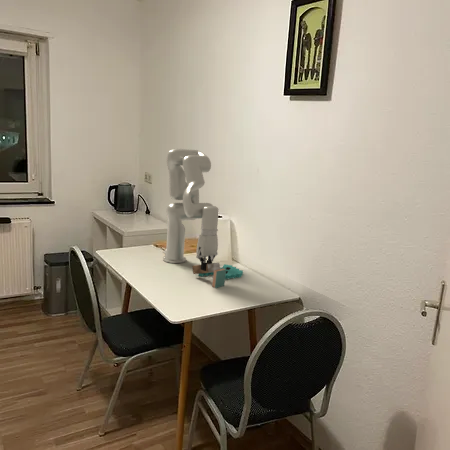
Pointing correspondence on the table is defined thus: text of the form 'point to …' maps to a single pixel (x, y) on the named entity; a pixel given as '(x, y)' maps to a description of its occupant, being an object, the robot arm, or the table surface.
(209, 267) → the brown flat bar
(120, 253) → the table surface
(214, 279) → the tile
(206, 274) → the alien figure
